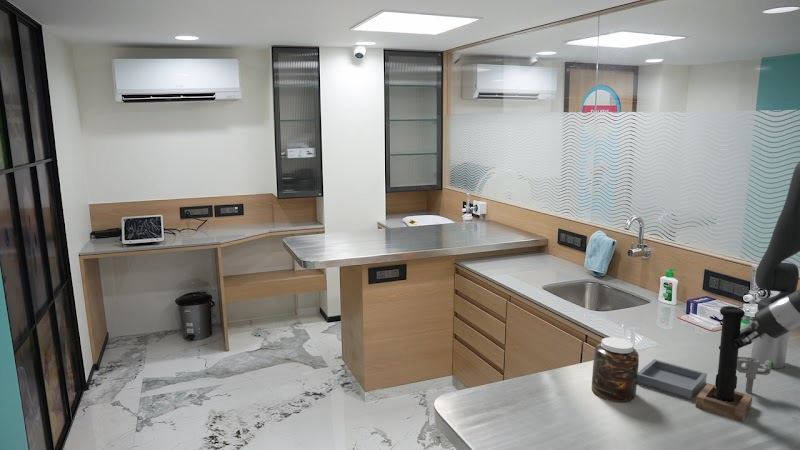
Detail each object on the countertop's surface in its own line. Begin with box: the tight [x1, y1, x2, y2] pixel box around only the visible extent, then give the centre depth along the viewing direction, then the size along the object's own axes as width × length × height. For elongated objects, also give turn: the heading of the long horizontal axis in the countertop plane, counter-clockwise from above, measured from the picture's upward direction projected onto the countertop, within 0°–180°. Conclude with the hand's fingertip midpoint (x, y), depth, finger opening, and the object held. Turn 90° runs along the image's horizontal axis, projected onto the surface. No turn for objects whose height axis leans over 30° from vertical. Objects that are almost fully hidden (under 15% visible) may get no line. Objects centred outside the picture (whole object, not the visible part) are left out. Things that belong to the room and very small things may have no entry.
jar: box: [591, 336, 640, 403], centre depth 157 cm, size 12×12×15 cm
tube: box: [714, 305, 746, 403], centre depth 148 cm, size 25×6×6 cm
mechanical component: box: [736, 356, 774, 395], centre depth 159 cm, size 3×10×10 cm, turn 78°
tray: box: [637, 358, 708, 401], centre depth 165 cm, size 15×15×3 cm
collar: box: [695, 383, 753, 422], centre depth 151 cm, size 11×11×3 cm
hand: (721, 349), depth 150 cm, fingers closed on tube, 1 cm apart
